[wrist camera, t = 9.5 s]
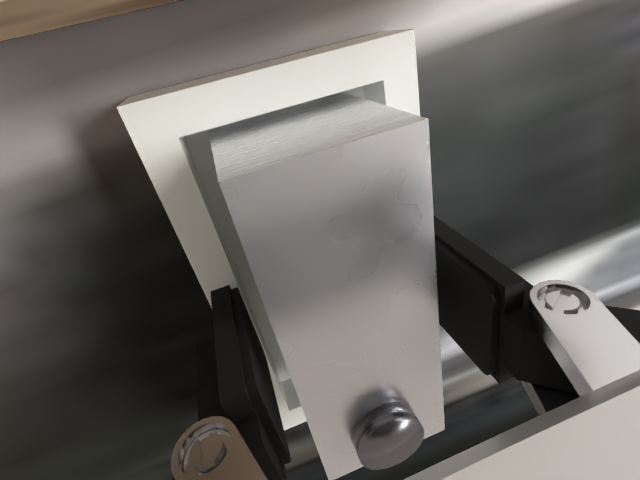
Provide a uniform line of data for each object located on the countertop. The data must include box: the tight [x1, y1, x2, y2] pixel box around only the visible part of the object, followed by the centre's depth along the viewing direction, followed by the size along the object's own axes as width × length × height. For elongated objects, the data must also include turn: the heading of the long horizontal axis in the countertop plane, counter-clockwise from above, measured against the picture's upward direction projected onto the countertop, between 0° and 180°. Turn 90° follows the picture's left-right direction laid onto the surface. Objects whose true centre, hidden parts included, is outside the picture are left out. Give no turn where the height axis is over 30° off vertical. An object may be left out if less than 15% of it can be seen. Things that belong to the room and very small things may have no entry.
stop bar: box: [208, 92, 445, 480], centre depth 11 cm, size 4×10×6 cm, turn 12°
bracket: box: [117, 29, 420, 430], centre depth 13 cm, size 8×13×2 cm, turn 12°
